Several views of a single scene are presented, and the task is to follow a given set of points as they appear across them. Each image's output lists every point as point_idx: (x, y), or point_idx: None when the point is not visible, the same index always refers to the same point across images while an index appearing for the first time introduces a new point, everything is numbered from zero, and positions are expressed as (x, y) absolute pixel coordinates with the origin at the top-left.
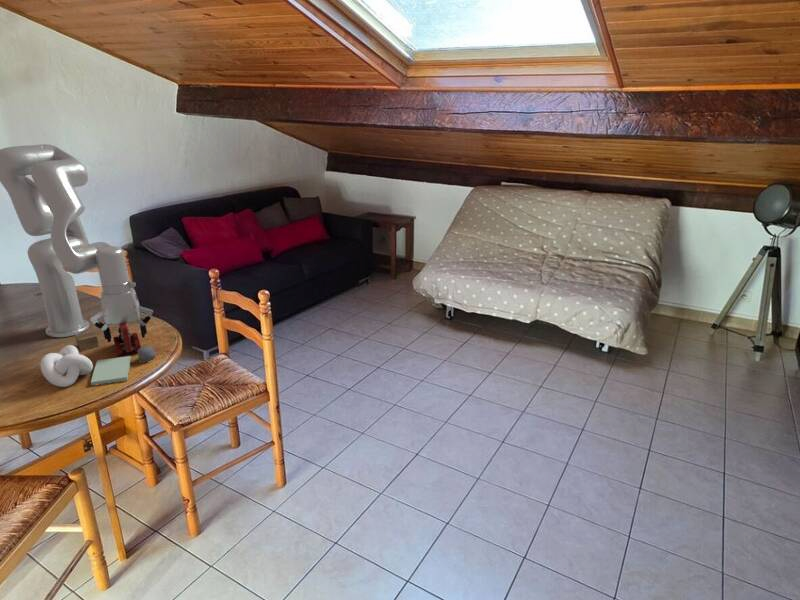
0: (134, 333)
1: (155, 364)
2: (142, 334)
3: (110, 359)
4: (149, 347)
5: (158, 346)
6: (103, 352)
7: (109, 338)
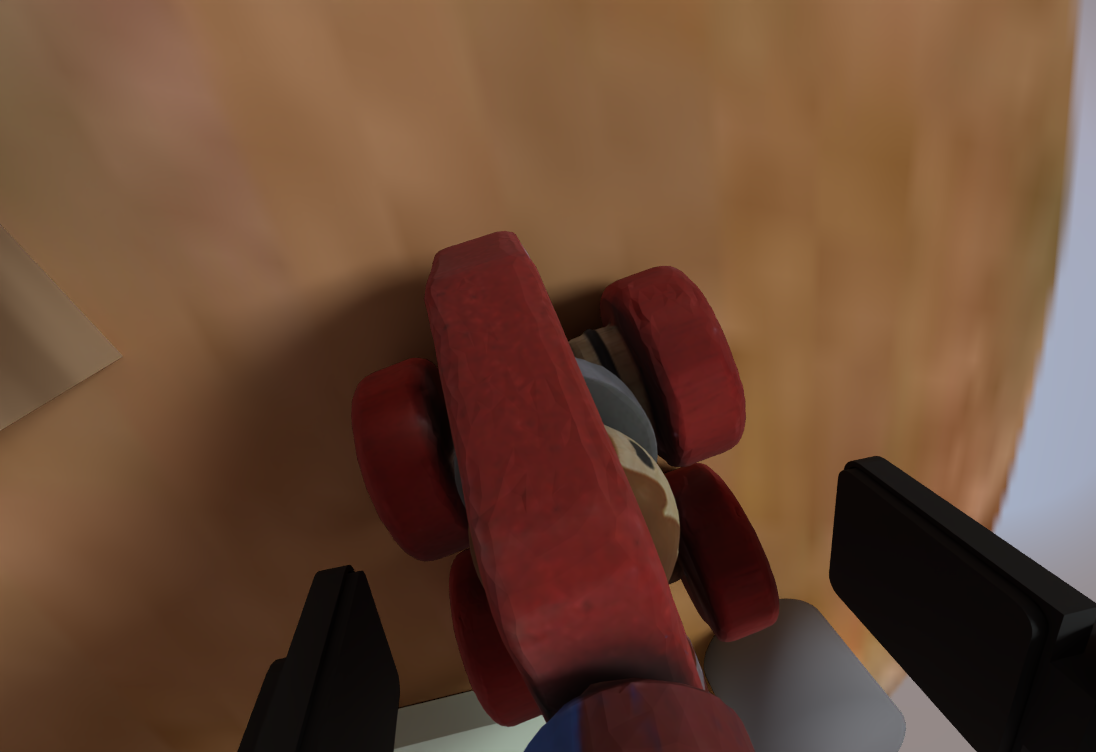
0: (711, 420)
1: None
2: (883, 632)
3: (468, 743)
4: (873, 719)
5: (870, 421)
6: (285, 514)
7: (393, 748)
